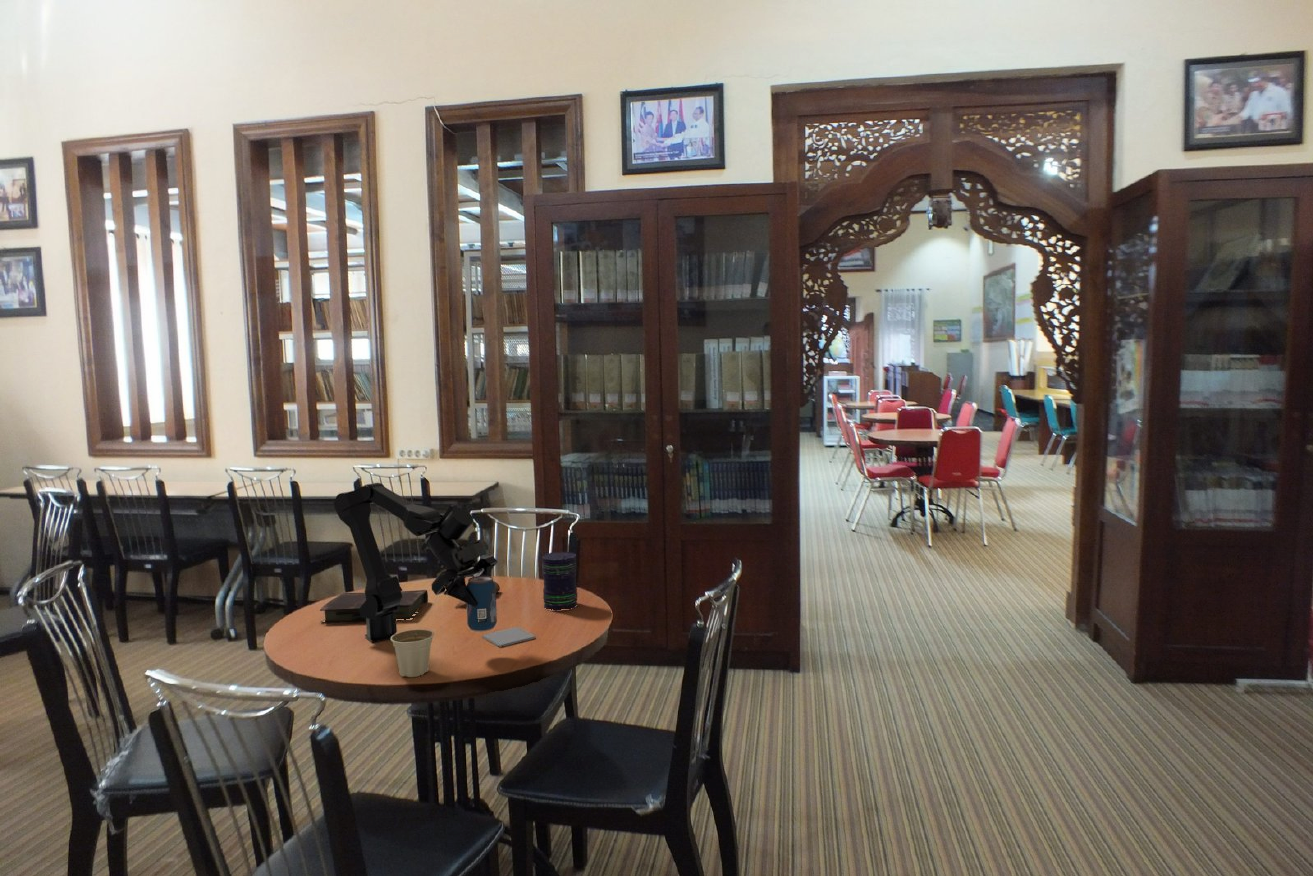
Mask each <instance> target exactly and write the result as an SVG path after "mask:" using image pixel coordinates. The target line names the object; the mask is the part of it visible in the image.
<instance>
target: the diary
mask: <svg viewBox="0 0 1313 876" xmlns="http://www.w3.org/2000/svg"><path fill="white" fill-rule="evenodd" d="M401 592H402V599H401V601H400V605H399V609H398V610H397V611H393V612H394V617H395V618H396V619H404V620H406V619H410V618H415V617H416V616H412V615H413V614H417V615H418V614H419V613H415V612H416V611H417V612H418V611H419V610H420V608H421V607H422V606H423V605H422V604H427V602H428V603H429V593H428V590H427V589H421V590H420V589H418V590H405V591H403V590H402V591H401ZM365 601H366V596H365V592H342V593H340V594H338V595H337V596H336V597H334V598H332V599H330V600H329V601H328V602H327V603H325V604H324V605H323V606H322V607H320V609H319V611H320V612H324V620H325V622H323V621H324V620H322V621H321V620H320V623H321V624H324V623H334V624H354V623H356V624H357V623H358V622H359V623H366V618H361V616H360V613H359V608H360V607H361V606H362V605H363V603H364V602H365ZM421 605H422V606H421ZM399 622H402V621H401V620H400V621H399Z"/></svg>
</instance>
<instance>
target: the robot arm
mask: <svg viewBox="0 0 1313 876" xmlns="http://www.w3.org/2000/svg"><path fill="white" fill-rule="evenodd" d="M371 504H375V505H377V507H380V508H382V509H383V510H385V511H386V512H388V513H389V514H391V515H392V516H394V517H396V518H398V519H399V520H401V522H402V524H403V526H404V528H406V530H408V531H409V532H410V533H411V534H412V535H414V536H416V537H420V536H424V535H429V536H428V537H427V538H423V539H422V540H421V541H422V544H421V548H420V549H421V551H423V552H424V551H426V550H430V551H431V552H432V553H433V555H434V556H435V558H436V559H437V560H438V561H439V562H438V563H437V566H438V568H439V569H442V568H443V567H444V571H441V572H440V573H439V574H438V576H437V577H436V578H435V579H434V581H432V583H431V591H433V593H434V595H435V596H439V595H441V594H443V595H444V596H448V597H452V598H454V599H457V600H459V601H463V602H465V603H468V604H470V605H472V606H474V607H476V606H477V605H478V603H477V601H476V599H475V598H474V596H473V595H472V593H471V592H470V590H469V589H468V587H467V584H466V578H469V577H476V576H491V577H492V570H494V567H495V566H496V565H497V564H498V560H497V559H496V558H495V557H494V556H493V555H488V552H487V551H488V550H489V544H488V543H487V542H486V541H485V540H484V539H483V538H479V539H477V540H475V541H474V542H473V544H472V545H469V546H467V547H466V546H465V545H461V546H460V545H459V544H458V543H457V542H456V541H458V540H460V539H461V538H462V537H463V536H464V534H465V533H466V532H467V531H468V529H469V528H470V527H471V526H472V525H473V523H474V517H473V515H472V513H470V511H467V510H466V509H464V508H462V507H459V506H458V505H457V504H452V505H449V506H448V508H447V510H446V511H445V513H444V514H442V513H440V512H439V511H438V510H437V509H434V508H432V507H429V506H425V505H419V504H414V503H412V502H411V501H409V500H407V499H406V498H404V497H403V496H401V495H400V494H397V493H395V492H394V491H393V490H391V489H389V488H387V487H386V486H385V485H384V484H383V483H381V482H373V483H368V484H364V485H363V486H361V487H359V488H356V489H354V490H351V491H346V492H339V493H338V494H337V495H336V497H335V499H334V501H333V507H334V510H335V511H336V512H335V513H337V515H338V518H339V520H340V521H341V522H343V523H344V524H345V525H346V526H347V527H348V529H349V530H350V533H351V536H352V539H353V541H354V545H355V547H356V548H355V549H356V551H357V554H358V556H359V560H360V562H361V566H362V568H363V572H364V574H365V577H366V583H365V584H366V585H365V587H364V593H365V596H366V601H365V602H364V603H363V605H362V606H361V607H360V608H359V613H360V616H361V618H366V622H365V624H366V625H365V626H366V634H364V637H365V638H366V639H367V640H368V641H370V642H371V643H376V642H381V641H386V640H389V639H390V640H391V636H393V635H394V634H396V633H398V628H397V621H396V618H395V617H394V612H393V611H397V610H398V609H399V605H400V601H401V599H402V592H401V591H403V589H402V586H401V585H400V582H399V578H398V577H397V576H396V575H395V576H391V575H390V574H389V573H388V572H387V570H386V567H385V564H384V561H383V559H382V558H383V557H382V555H381V552H380V549H379V546H378V544H377V540H376V537H375V534H374V531H373V528H372V526H371V523H370V519H371V518H370V517H371V513H372V505H371ZM486 555H487V556H486ZM482 556H484V557H482ZM480 557H481V558H480ZM478 558H480V559H478ZM497 596H498V595H497V593H496V597H497Z"/></svg>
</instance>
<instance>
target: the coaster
mask: <svg viewBox="0 0 1313 876" xmlns="http://www.w3.org/2000/svg"><path fill="white" fill-rule="evenodd" d="M482 637H483V638H482ZM481 638H482V639H484V638H485V639H484V640H486V641H487V640H488V642H489V641H491V642H492V643H491V642H490V643H491V644H493V645H494V646H496V647H498V646H499V647H500V648H503V647H502V646H504V647H507V646H511V645H515V643H516V644H519V643H518V642H520V643H523V642H528V641H530V640H534V639H536V635H535V634H532V633H530V632H528V631H526V630H524V629H523V628H520V627H519V626H514V627H511V628H505V629H502V630H498V631H494V632H490V633H485V634H482V635H481ZM522 641H523V642H522ZM499 647H498V648H499Z"/></svg>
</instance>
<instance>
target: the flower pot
mask: <svg viewBox="0 0 1313 876" xmlns="http://www.w3.org/2000/svg"><path fill="white" fill-rule="evenodd" d="M433 637H435V632H434V631H432V630H430V629H426V628H424V629H422V628H417V629H416V628H415V629H408V630H403V631H400V632H396V633H395V634H394V635H393V636H391V638H390V642H392V645H393V648H394V652H395V655H396V656H395V657H396V661H397V666H398V672H399V675H400V676H401V677H403V678H404V677H407V678H416V677H420V675H421V676H423V675H424V674H425V673H428V672H429V665H430V663H429V662H430V653H431V647H432V646H431V645H432V642H433Z"/></svg>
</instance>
